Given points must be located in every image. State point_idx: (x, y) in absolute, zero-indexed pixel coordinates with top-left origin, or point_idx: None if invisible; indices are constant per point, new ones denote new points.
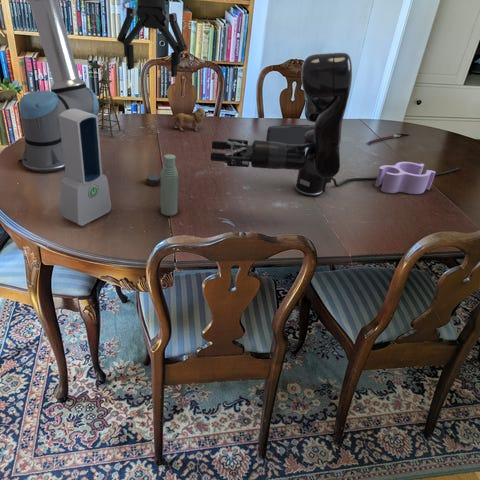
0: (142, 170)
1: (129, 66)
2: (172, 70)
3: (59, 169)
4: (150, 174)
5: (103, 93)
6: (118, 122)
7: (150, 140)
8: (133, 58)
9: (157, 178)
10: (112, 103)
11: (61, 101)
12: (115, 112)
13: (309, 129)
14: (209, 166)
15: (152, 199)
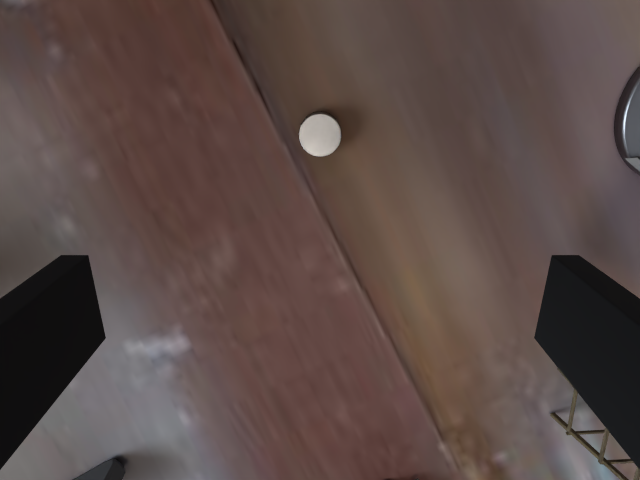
0: (386, 200)
1: (572, 268)
2: (31, 286)
3: (634, 76)
4: (335, 148)
5: None
6: (568, 429)
7: (444, 393)
8: (587, 399)
9: (302, 130)
10: (622, 475)
11: None
12: (595, 453)
13: None
14: (219, 309)
15: (274, 23)
